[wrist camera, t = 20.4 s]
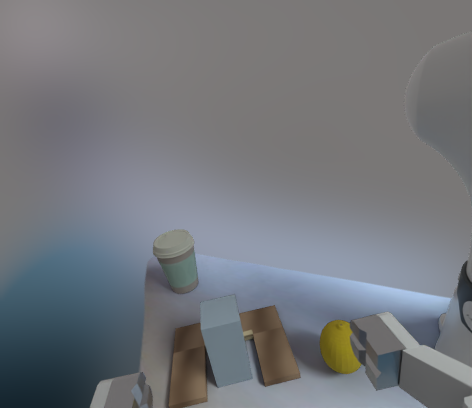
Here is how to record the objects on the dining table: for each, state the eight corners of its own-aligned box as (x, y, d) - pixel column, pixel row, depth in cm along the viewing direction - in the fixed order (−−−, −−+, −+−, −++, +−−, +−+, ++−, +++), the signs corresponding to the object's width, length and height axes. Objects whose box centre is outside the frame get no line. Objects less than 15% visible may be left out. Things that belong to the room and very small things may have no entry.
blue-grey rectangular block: (246, 348, 43) (234, 294, 39) (252, 378, 38) (239, 320, 34) (215, 356, 43) (200, 302, 38) (217, 387, 38) (200, 330, 34)
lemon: (339, 395, 34) (337, 350, 31) (313, 359, 39) (309, 318, 36) (373, 375, 36) (375, 331, 33) (344, 343, 41) (343, 302, 38)
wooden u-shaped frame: (275, 309, 49) (274, 304, 49) (300, 377, 37) (299, 372, 37) (177, 332, 48) (175, 328, 48) (170, 410, 36) (168, 405, 36)
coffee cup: (183, 269, 66) (170, 226, 61) (211, 276, 61) (200, 230, 57) (158, 293, 59) (141, 246, 55) (188, 302, 55) (173, 253, 50)
